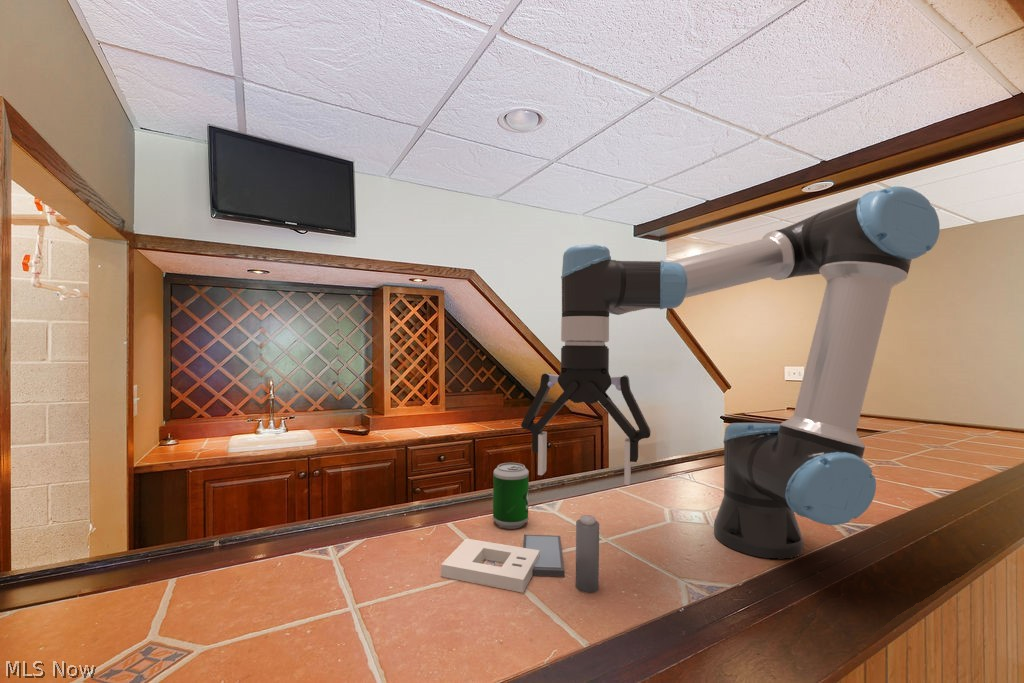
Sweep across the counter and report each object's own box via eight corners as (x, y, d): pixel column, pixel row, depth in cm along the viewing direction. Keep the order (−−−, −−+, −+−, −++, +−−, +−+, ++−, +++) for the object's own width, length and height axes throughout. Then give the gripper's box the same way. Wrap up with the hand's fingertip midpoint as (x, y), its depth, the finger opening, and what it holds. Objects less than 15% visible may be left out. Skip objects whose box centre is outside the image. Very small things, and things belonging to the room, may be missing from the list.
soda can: (525, 532, 89) (525, 472, 89) (488, 528, 90) (489, 470, 90) (530, 517, 96) (531, 462, 96) (497, 514, 97) (498, 460, 98)
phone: (560, 540, 85) (560, 535, 85) (564, 576, 72) (564, 570, 72) (523, 539, 85) (524, 534, 85) (521, 575, 72) (521, 568, 72)
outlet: (539, 561, 77) (539, 549, 77) (523, 592, 67) (523, 579, 67) (466, 549, 81) (466, 537, 81) (440, 576, 72) (441, 563, 72)
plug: (599, 582, 70) (600, 515, 70) (597, 594, 67) (597, 524, 67) (577, 578, 71) (578, 512, 71) (573, 590, 68) (574, 520, 68)
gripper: (667, 345, 70) (665, 478, 70) (517, 343, 78) (516, 463, 77) (668, 345, 62) (666, 494, 62) (503, 343, 70) (501, 475, 70)
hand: (583, 477), depth 70 cm, fingers open, 13 cm apart
